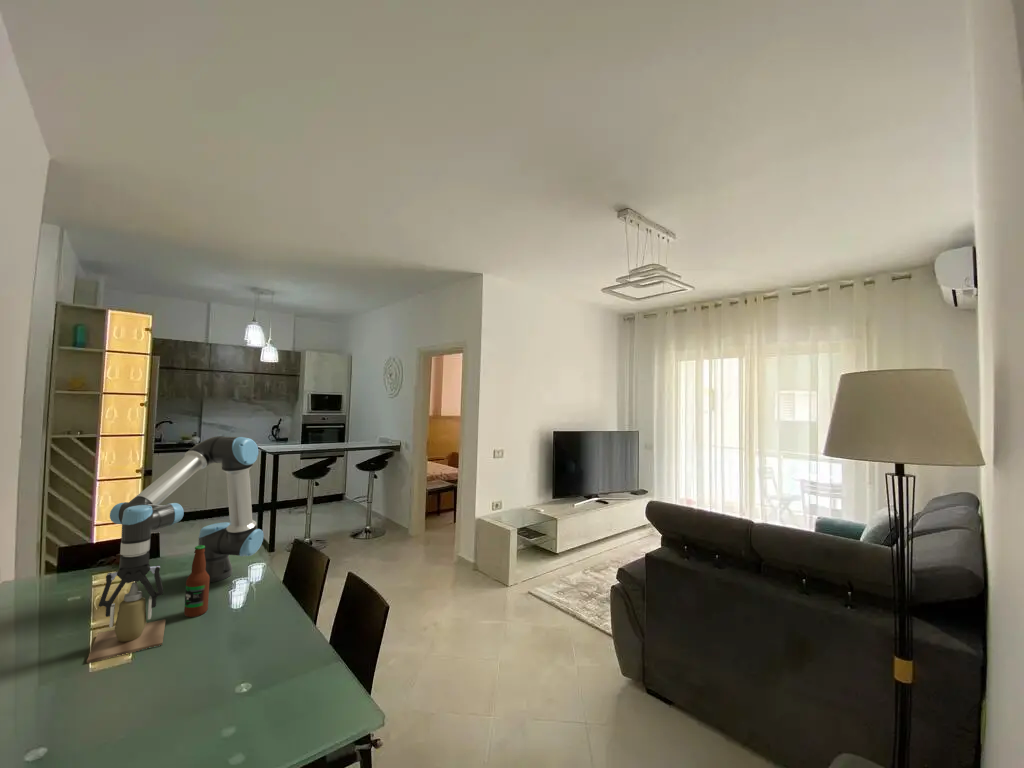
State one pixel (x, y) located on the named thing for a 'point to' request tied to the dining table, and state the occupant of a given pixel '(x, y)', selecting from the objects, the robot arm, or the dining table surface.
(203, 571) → the bottle
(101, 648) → the walnut board
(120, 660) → the dining table surface
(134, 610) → the squeeze bottle
